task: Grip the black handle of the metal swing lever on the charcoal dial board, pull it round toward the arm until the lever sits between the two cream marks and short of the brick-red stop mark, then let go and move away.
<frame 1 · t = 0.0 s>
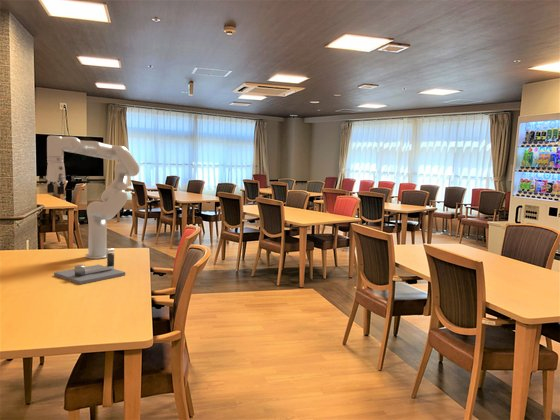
hand: (55, 193, 223), 37 cm above the table, tool pointing down, fingers open, 9 cm apart
dial board: (90, 275, 206), on the table
swing lever: (95, 263, 205), point 6 cm above the table, hinge at 0.0°
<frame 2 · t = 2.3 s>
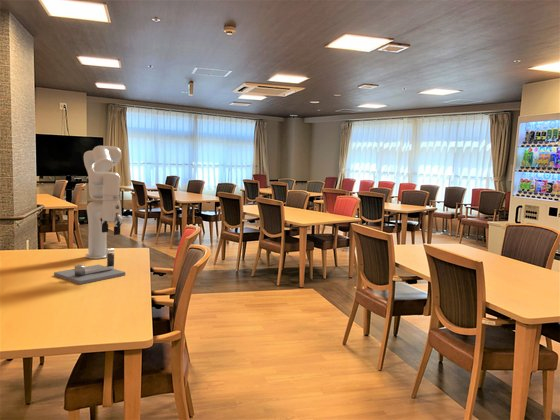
hand: (110, 233, 211), 20 cm above the table, tool pointing down, fingers open, 9 cm apart
nothing on the table moved.
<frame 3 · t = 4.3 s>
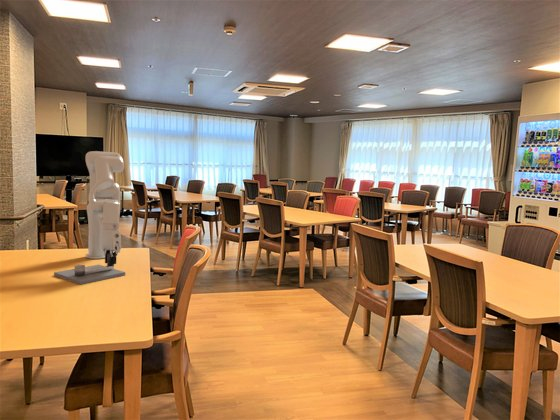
hand: (110, 263, 212), 5 cm above the table, tool pointing down, fingers closed on swing lever, 3 cm apart
swing lever: (95, 263, 205), point 6 cm above the table, hinge at 0.0°, touching gripper
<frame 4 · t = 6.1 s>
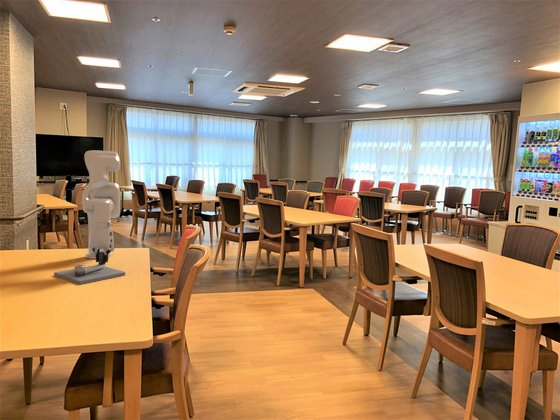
hand: (101, 261, 215), 5 cm above the table, tool pointing down, fingers closed on swing lever, 3 cm apart
swing lever: (90, 263, 206), point 6 cm above the table, hinge at 20.6°, touching gripper
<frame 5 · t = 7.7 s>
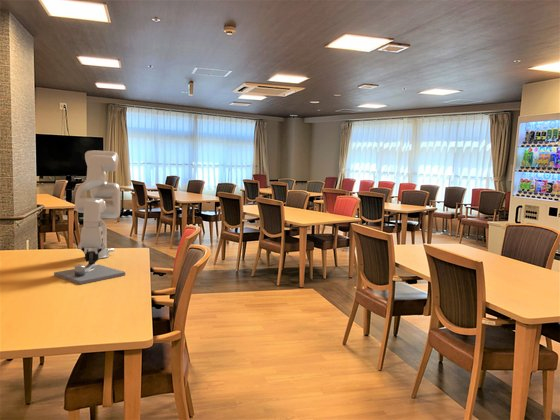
hand: (91, 260, 215), 5 cm above the table, tool pointing down, fingers closed on swing lever, 3 cm apart
swing lever: (85, 262, 207), point 6 cm above the table, hinge at 39.6°, touching gripper
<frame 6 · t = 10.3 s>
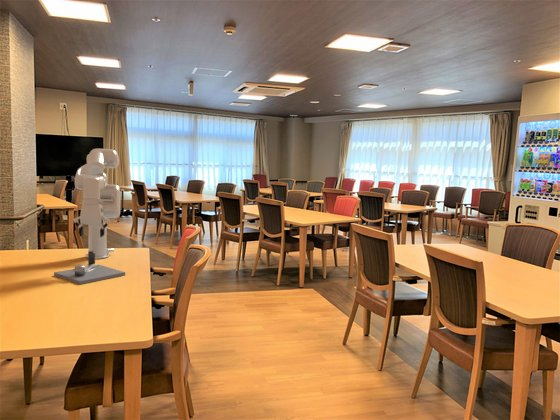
hand: (91, 236, 214), 17 cm above the table, tool pointing down, fingers open, 9 cm apart
swing lever: (85, 262, 207), point 6 cm above the table, hinge at 39.7°
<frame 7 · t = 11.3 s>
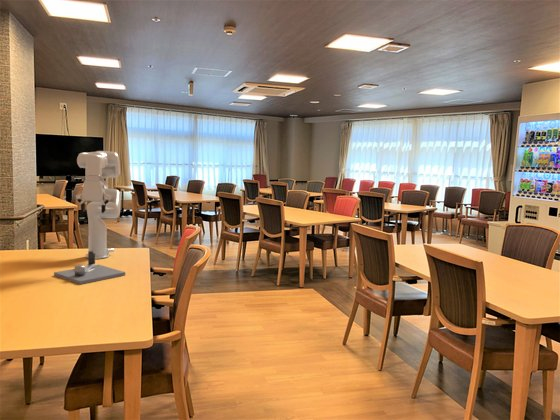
hand: (93, 212, 222), 28 cm above the table, tool pointing down, fingers open, 9 cm apart
nothing on the table moved.
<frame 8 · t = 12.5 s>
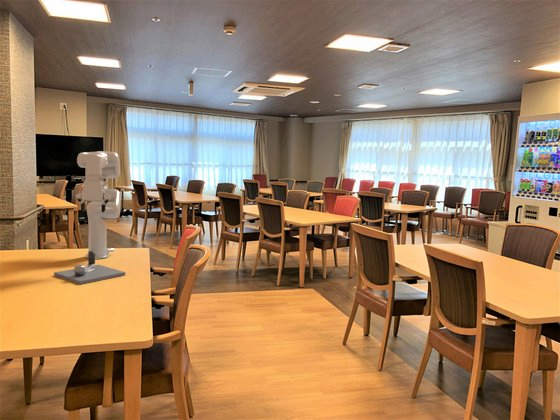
hand: (93, 211, 222), 28 cm above the table, tool pointing down, fingers open, 9 cm apart
nothing on the table moved.
at the end: swing lever at +40° (first picture: +0°); the gripper is holding nothing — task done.
